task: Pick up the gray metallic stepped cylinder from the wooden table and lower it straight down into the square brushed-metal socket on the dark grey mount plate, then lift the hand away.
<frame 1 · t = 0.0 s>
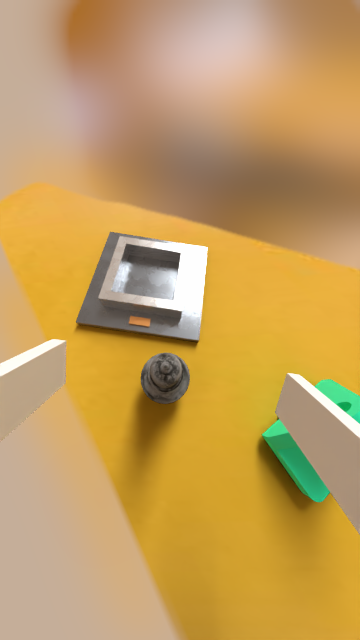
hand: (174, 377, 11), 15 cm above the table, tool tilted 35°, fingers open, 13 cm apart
gray metallic stepped cylinder: (165, 379, 26), on the table
camera mount: (307, 431, 25), on the table
mount plate: (150, 283, 31), on the table
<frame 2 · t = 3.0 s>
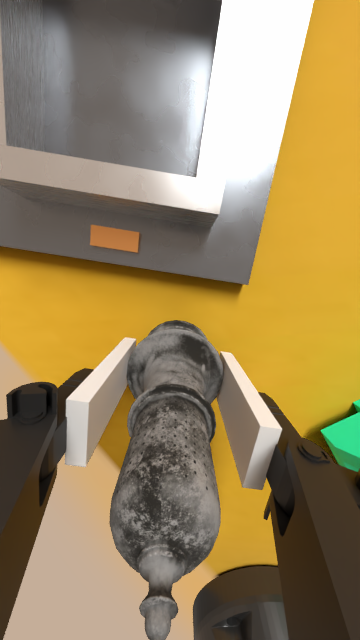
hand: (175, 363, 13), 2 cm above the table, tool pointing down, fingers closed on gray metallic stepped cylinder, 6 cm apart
gray metallic stepped cylinder: (176, 351, 15), on the table, touching gripper
mount plate: (131, 111, 11), on the table
when the fingers open (5 cm above the table, at t = 8.7 s): gray metallic stepped cylinder drops 2 cm, resting on mount plate.
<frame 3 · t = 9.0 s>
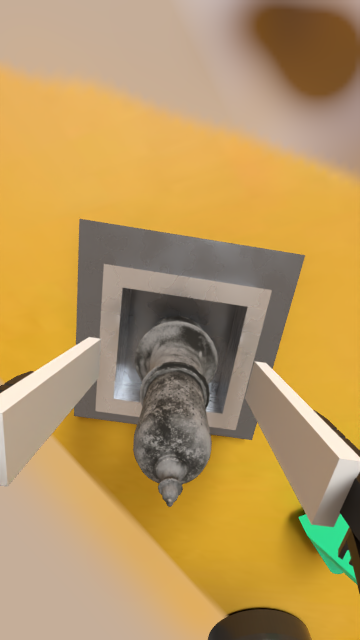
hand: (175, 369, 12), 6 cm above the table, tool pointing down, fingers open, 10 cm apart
gray metallic stepped cylinder: (177, 343, 17), point 1 cm above the table, touching mount plate
camera mount: (350, 504, 22), on the table
mount plate: (177, 340, 17), on the table
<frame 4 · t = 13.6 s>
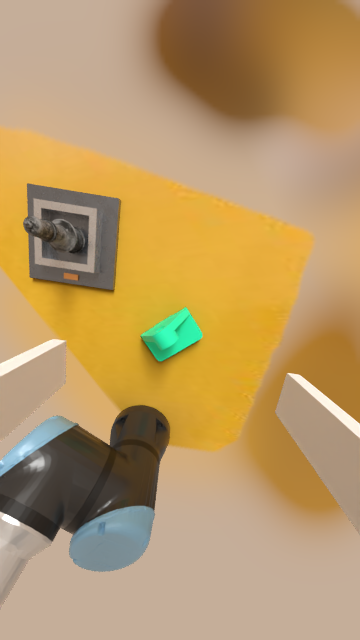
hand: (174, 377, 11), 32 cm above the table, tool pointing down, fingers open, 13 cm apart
gray metallic stepped cylinder: (72, 240, 38), point 1 cm above the table, touching mount plate
camera mount: (172, 332, 44), on the table
mount plate: (75, 240, 39), on the table
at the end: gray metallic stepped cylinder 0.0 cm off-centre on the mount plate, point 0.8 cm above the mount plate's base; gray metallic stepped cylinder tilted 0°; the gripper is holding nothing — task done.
